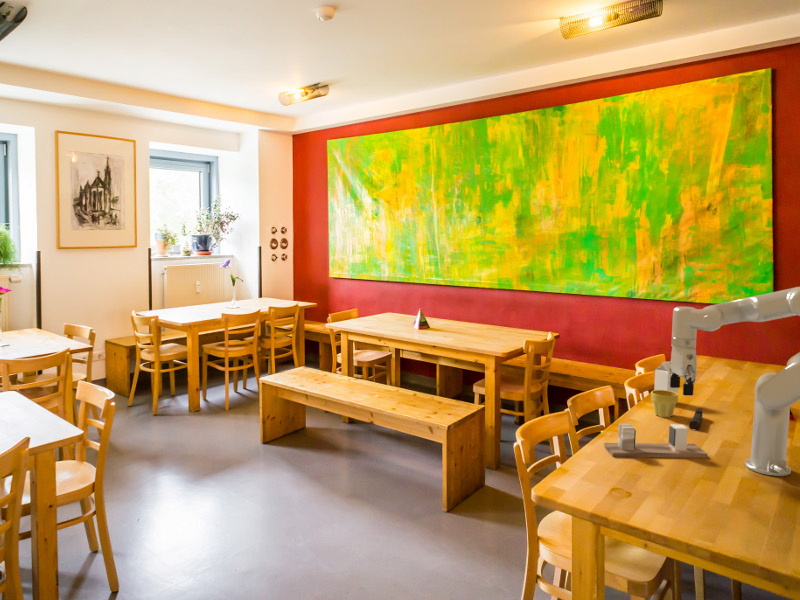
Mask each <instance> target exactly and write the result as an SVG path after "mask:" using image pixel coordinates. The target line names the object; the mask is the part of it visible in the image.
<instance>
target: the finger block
mask: <svg viewBox="0 0 800 600" xmlns="http://www.w3.org/2000/svg"><path fill="white" fill-rule="evenodd" d="M668 427H669V430H668V444H670V447H671V448H672V449H674V450H675V451H686V450H687V444H688V429H689V427H687V426H685V425H684V424H683V423H682V424H673V423H671V424H670V425H669V426H668Z"/></svg>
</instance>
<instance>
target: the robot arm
mask: <svg viewBox="0 0 800 600" xmlns="http://www.w3.org/2000/svg"><path fill="white" fill-rule="evenodd" d="M793 316H794V317H795V316H799V317H800V286H795V287H791V288H787V289H782V290H777V291H774V292H772V291H771V292H769V293H764V294H759V295H754V296H749V297H744V298H741V299H736V300H731V301H726V302H721V303H716V304H711V305H708V306H704V307H703V308H702V309H700V308H699V309H697V308H695V307H692V306H676V307H674V308H673V310H672V326H671V327H672V329H671V343H670V344H671V345H670V346H671V347H672V348H671V354H670V361H671V362H670V371H671V373H670V376H671V377H670V387H671V388H678V389H679V388H681V386H680V385H681V378H683V381H684V383H683V384H682V395H683V396H693V395H694V385H695V381H696V377H697V372H698V368H697V367H698V365H697V360H698V359H697V350H696V348H697V336H698V335H697V333H698V332H697V331H698V330H701V331H706V332H715V331H717V330H719V329H720V328H721V326H725V325H730V324H735V323H742V322H743V323H744V322H752V323H753V322H754V323H762V322H763V323H764V322H767V321H773V320H779V319H783V318H784V319H785V318H789V317H793ZM799 401H800V351H799V352H797V353H796V354H795V355H793V356H791V357H790V358H789V359H788V360H787V362H786V367H784V368H783V369H782V370H780V371H779V372H766V373H764V374H762V375H761V376H759V377H758V379H757V381H756V382H755V385H754V406H753V407H754V408H753V412H754V413H753V420H752V421H753V424H752V437H751V450H750V457H749V458H746V459H745V460H744V466H745V467H747V469H748V470H749V469H750V470H751V471H754V472H756V473H759V474H763V475H768V476H772V475H773V477H785V476H786V477H787V476H789V475H791V474H792V469H791V467H790V466H788V464H787V462H788V461H787V449H788V439H789V438H788V436H789V425H790V412H791V411H790V410H791V406H793V405H794V404H796V403H797V402H799Z"/></svg>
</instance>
